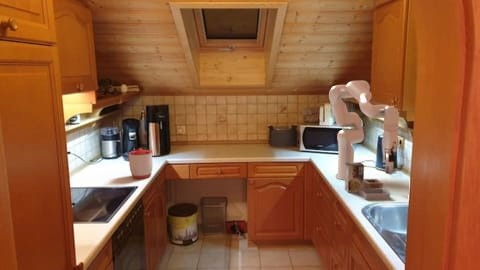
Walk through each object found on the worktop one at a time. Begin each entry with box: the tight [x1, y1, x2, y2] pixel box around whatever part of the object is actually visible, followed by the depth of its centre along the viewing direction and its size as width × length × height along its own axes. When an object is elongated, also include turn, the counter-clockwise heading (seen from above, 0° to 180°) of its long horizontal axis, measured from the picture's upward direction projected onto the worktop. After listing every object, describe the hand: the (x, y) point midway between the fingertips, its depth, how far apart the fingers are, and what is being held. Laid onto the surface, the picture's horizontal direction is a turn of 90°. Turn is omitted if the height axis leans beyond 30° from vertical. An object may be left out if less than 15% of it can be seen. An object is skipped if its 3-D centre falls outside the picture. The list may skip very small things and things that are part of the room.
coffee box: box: [344, 161, 365, 194], centre depth 216 cm, size 9×6×16 cm
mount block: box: [363, 178, 384, 189], centre depth 219 cm, size 9×9×5 cm
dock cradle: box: [358, 187, 391, 201], centre depth 206 cm, size 10×13×3 cm
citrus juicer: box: [125, 147, 153, 179], centre depth 254 cm, size 16×17×20 cm
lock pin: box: [384, 149, 394, 175], centre depth 210 cm, size 4×4×13 cm
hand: (389, 160), depth 210 cm, fingers closed on lock pin, 4 cm apart
